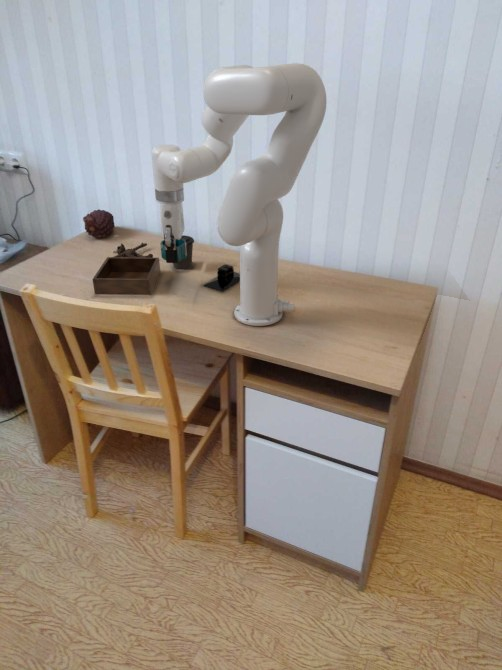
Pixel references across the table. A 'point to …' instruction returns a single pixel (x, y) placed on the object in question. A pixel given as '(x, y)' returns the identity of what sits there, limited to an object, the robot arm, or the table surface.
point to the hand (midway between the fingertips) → (174, 256)
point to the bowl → (179, 246)
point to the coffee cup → (187, 261)
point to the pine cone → (99, 223)
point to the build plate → (224, 279)
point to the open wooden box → (127, 276)
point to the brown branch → (130, 251)
